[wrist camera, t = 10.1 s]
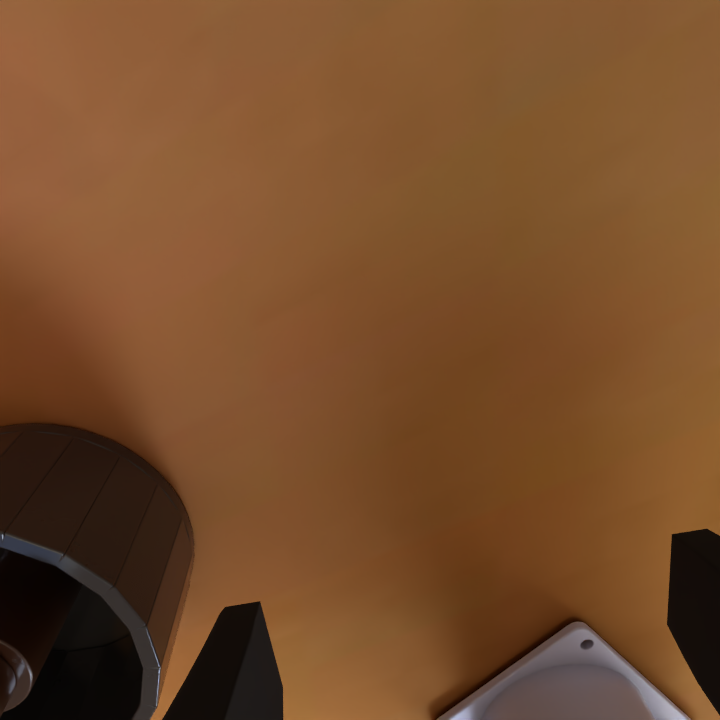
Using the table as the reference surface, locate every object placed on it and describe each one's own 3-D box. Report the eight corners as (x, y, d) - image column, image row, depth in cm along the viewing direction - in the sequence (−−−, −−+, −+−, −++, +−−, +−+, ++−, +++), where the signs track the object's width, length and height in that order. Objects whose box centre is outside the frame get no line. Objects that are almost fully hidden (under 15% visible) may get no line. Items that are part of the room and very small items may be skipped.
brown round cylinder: (250, 539, 23) (231, 665, 17) (83, 685, 25) (22, 836, 19) (22, 366, 20) (-82, 456, 14) (-147, 548, 22) (-290, 683, 16)
